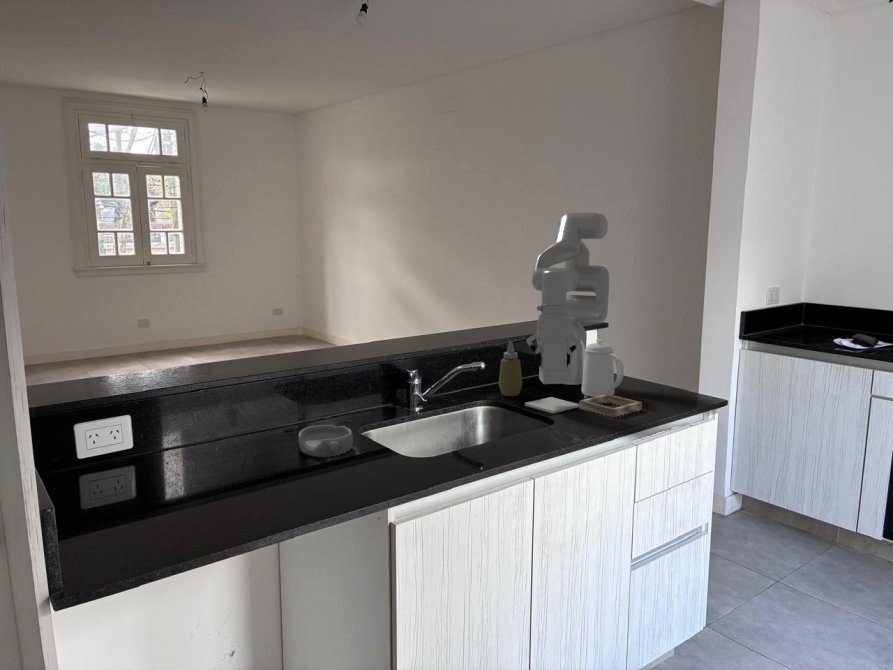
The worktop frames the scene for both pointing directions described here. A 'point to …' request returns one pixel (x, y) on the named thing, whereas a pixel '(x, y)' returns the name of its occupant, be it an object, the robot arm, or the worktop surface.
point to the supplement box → (553, 363)
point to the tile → (552, 405)
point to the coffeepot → (600, 369)
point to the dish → (325, 440)
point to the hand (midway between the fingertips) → (552, 365)
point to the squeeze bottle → (510, 373)
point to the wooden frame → (624, 408)
